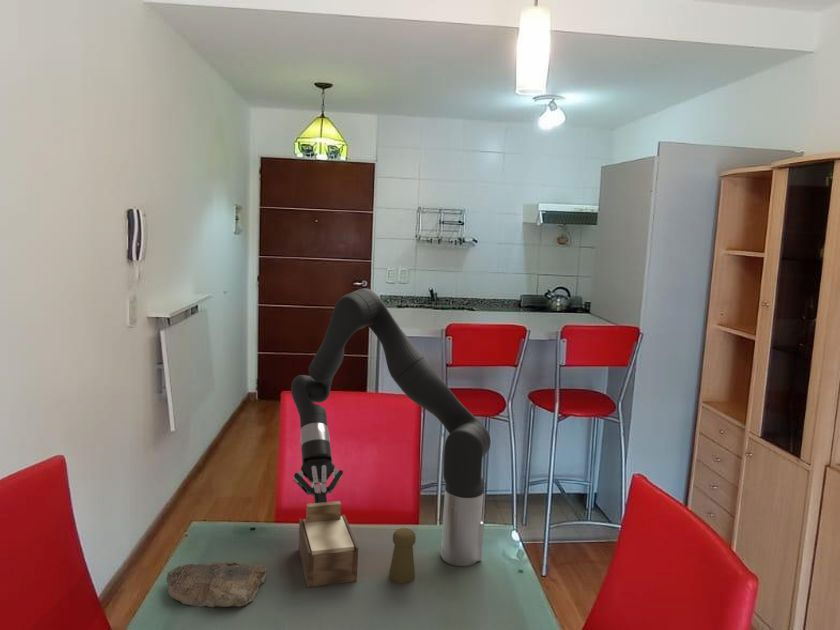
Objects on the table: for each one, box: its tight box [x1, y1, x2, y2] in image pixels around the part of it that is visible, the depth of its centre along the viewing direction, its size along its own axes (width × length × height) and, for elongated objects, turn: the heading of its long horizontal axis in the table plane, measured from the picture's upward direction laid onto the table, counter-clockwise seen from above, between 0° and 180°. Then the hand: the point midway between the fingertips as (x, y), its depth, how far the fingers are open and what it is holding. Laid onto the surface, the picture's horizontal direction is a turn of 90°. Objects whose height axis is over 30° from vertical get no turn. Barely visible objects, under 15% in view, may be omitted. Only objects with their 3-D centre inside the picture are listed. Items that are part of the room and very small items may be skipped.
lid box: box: [298, 514, 359, 588], centre depth 149 cm, size 11×16×8 cm
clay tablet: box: [166, 561, 268, 608], centre depth 137 cm, size 14×5×20 cm
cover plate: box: [302, 500, 354, 555], centre depth 148 cm, size 9×15×5 cm, turn 18°
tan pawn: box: [388, 527, 417, 584], centre depth 146 cm, size 6×6×11 cm
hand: (321, 509), depth 158 cm, fingers closed
